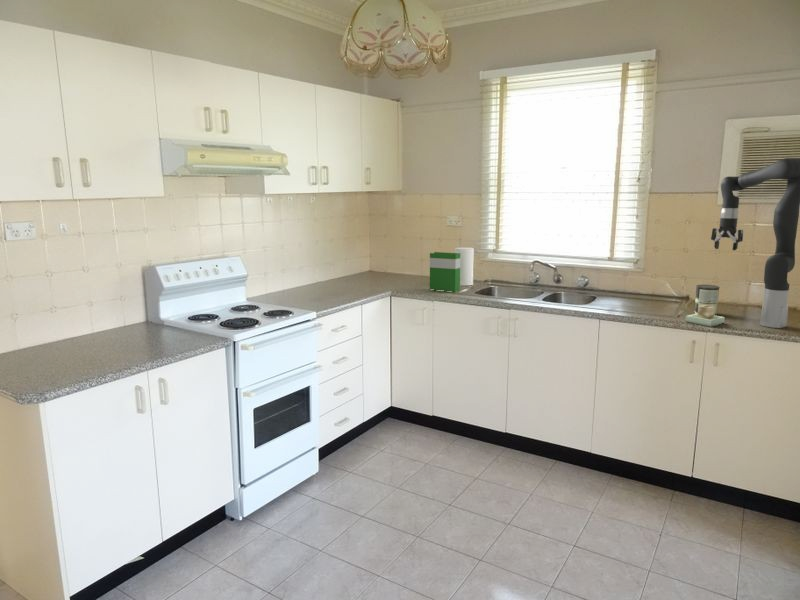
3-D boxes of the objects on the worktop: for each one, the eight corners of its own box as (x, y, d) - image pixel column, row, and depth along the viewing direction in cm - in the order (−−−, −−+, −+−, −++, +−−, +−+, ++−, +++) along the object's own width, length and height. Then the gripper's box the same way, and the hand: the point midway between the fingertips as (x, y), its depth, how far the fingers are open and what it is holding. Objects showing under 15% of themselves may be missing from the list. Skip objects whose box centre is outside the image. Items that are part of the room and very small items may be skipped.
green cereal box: (429, 290, 355) (429, 253, 350) (434, 288, 361) (434, 252, 356) (455, 292, 346) (455, 254, 342) (459, 291, 353) (460, 253, 348)
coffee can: (689, 312, 288) (691, 285, 285) (704, 310, 291) (707, 284, 288) (705, 316, 278) (708, 288, 275) (721, 314, 281) (724, 287, 278)
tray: (724, 323, 262) (724, 317, 262) (710, 326, 256) (711, 320, 255) (698, 318, 272) (699, 312, 272) (685, 321, 266) (685, 315, 265)
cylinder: (472, 286, 368) (473, 249, 363) (453, 286, 370) (454, 248, 365) (473, 283, 380) (474, 247, 375) (455, 283, 382) (455, 247, 377)
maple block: (713, 321, 263) (714, 306, 262) (707, 322, 260) (709, 308, 259) (702, 319, 267) (704, 305, 266) (697, 320, 264) (698, 306, 263)
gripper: (747, 217, 275) (743, 250, 278) (718, 216, 286) (714, 247, 290) (740, 218, 271) (736, 251, 274) (710, 216, 282) (707, 248, 286)
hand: (725, 249), depth 282 cm, fingers open, 8 cm apart
